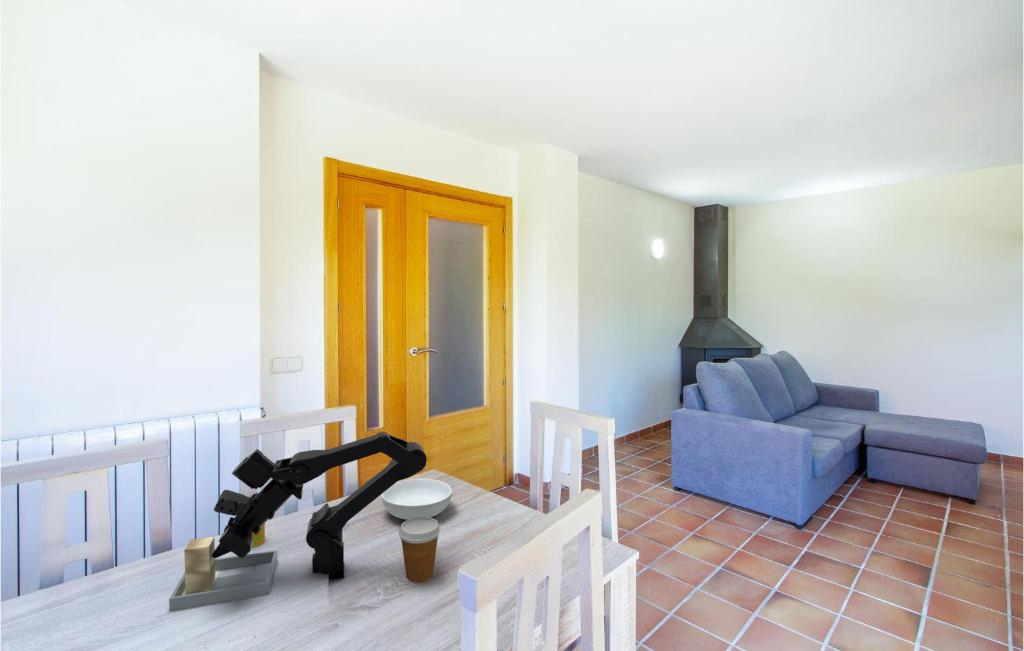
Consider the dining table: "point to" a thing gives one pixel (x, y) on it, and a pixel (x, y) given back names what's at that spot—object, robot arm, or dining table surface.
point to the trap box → (230, 582)
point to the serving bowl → (417, 498)
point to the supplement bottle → (259, 537)
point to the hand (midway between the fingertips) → (213, 556)
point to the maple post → (199, 565)
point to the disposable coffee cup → (419, 547)
